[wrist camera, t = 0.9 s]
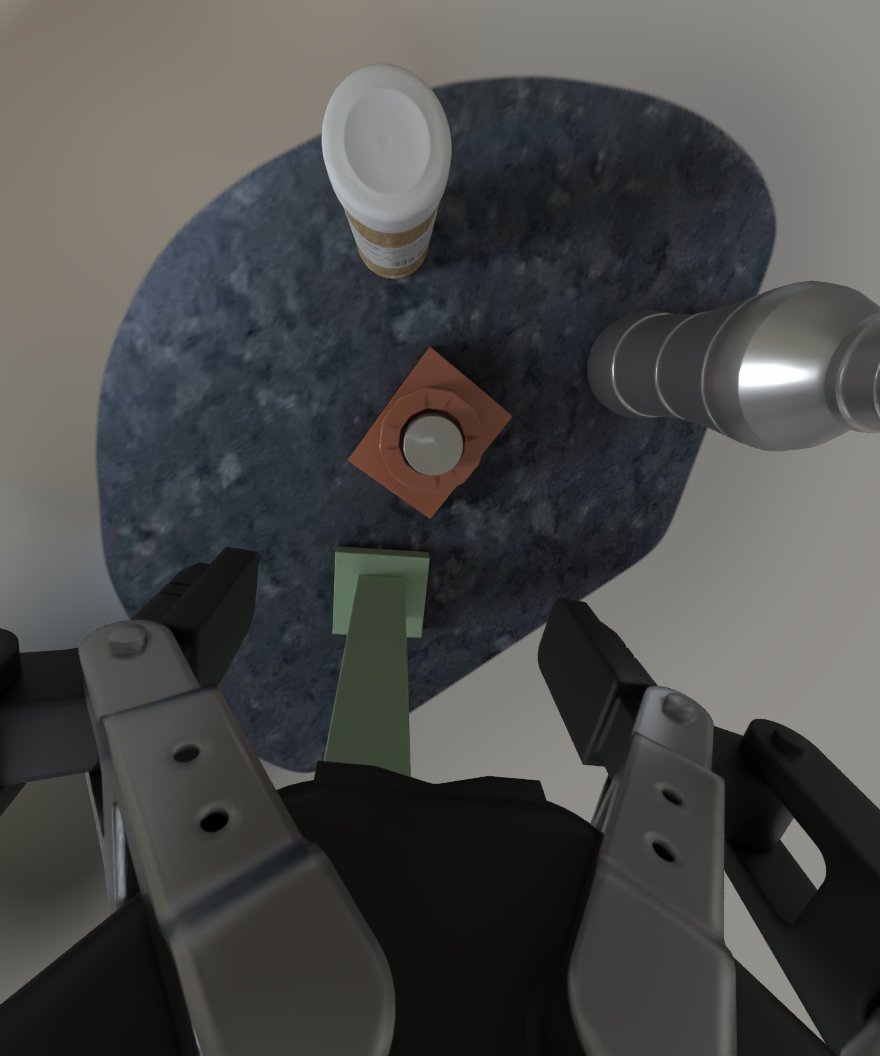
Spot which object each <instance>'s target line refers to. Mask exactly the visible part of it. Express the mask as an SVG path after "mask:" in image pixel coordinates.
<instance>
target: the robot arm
mask: <svg viewBox="0 0 880 1056" xmlns="http://www.w3.org/2000/svg"><path fill="white" fill-rule="evenodd" d="M258 565H259V554H258V552H255V551H249V550H242V549H236V548H230V547H226V548H225V549H224V550H223V551H222V552H221V553H220V554H219V555H218V556H217V557H216V559H215V560H214V561H213V562H212V563H211V564H206V563H197V564H195V565H193V566H190V567H188V568H186V569H183V570H181V571H180V572H179V573H178V574H177V575H176V576H175V577H174V578H173V579H172V580H171V581H170V583H169V584H167V585H166V586H165V587H164V588H163V589H162V590H161V591H160V593H158V594H157V595H156V596H155V597H154V598H153V599H152V600H151V601H150V602H149V603H147V604H146V605H145V606H144V607H143V608H142V609H141V610H140V611H139V612H138V613H137V614H136V615H135V616H134V617H133V618H132V619H131V620H126V621H119V622H115V623H111V624H108V625H105V626H102V627H100V628H97V629H96V630H94V631H92V632H90V633H89V634H88V635H86V636H85V637H84V638H83V639H82V641H81V642H80V644H79V647H78V648H74V649H67V650H56V651H40V652H25V653H20V652H19V643H18V638H17V637H16V635H15V634H13V633H12V632H10V631H8V630H5V629H1V628H0V816H1V815H2V813H3V812H4V811H5V810H6V808H7V807H8V806H9V805H10V803H11V802H12V801H13V799H14V798H15V797H16V796H17V794H18V793H19V792H20V791H21V789H22V788H23V787H24V785H25V784H26V783H27V782H30V781H36V780H42V779H48V778H54V777H60V776H66V775H72V774H78V773H84V772H86V779H87V783H88V788H89V793H90V798H91V802H92V807H93V812H94V817H95V822H96V826H97V831H98V836H99V841H100V845H101V850H102V855H103V861H104V867H105V875H106V884H107V892H108V899H109V906H110V912H111V916H109V917H108V918H107V919H106V920H104V921H103V922H102V923H101V924H100V925H98V926H97V927H96V928H94V929H93V930H92V931H91V932H89V933H88V934H87V935H86V936H85V937H83V938H82V939H81V940H80V941H78V942H77V943H76V944H75V945H74V946H72V947H71V948H70V949H68V950H67V951H66V952H65V953H64V954H62V955H61V956H60V957H59V958H57V959H56V960H55V961H54V962H52V963H51V964H50V965H49V966H47V967H46V968H45V969H44V970H43V971H41V972H40V973H39V974H38V975H36V976H35V977H34V978H33V979H31V980H30V981H29V982H28V983H26V984H25V985H24V986H23V987H22V988H20V989H19V990H18V991H17V992H16V993H14V994H13V995H12V996H10V997H9V998H8V999H7V1000H6V1001H4V1002H3V1003H2V1004H0V1056H880V809H878V807H877V806H876V805H874V804H873V803H872V802H871V801H870V800H869V799H868V798H867V797H866V796H865V795H864V794H863V793H862V792H861V791H860V790H859V789H858V788H857V787H856V786H855V785H854V784H853V783H852V782H851V781H850V780H849V779H848V778H847V777H846V776H845V775H844V774H843V773H842V772H841V771H840V770H839V769H838V768H837V767H836V766H835V765H834V764H833V763H832V762H831V761H830V760H829V759H828V758H827V757H826V756H825V755H824V754H823V753H822V752H821V751H820V750H819V749H818V748H817V747H816V746H815V745H813V744H812V743H811V742H810V741H809V740H807V739H806V738H804V737H803V736H802V735H800V734H798V733H797V732H795V731H793V730H792V729H790V728H788V727H786V726H784V725H781V724H779V723H776V722H773V721H769V720H765V719H755V720H753V721H752V722H751V723H750V725H749V726H748V728H747V730H746V732H745V734H744V736H742V735H739V734H736V733H733V732H730V731H728V730H724V729H722V728H718V727H715V726H714V725H713V720H712V718H711V717H710V715H709V714H708V712H706V710H705V709H704V708H703V707H702V706H701V705H699V704H698V703H697V702H696V701H694V700H693V699H691V698H689V697H688V696H686V695H684V694H682V693H680V692H678V691H676V690H673V689H670V688H667V687H661V686H658V685H657V684H656V683H655V682H654V680H653V679H652V678H651V677H650V675H649V674H648V673H647V671H646V670H645V669H644V668H643V666H642V665H641V664H640V663H639V661H638V660H637V659H636V658H634V655H633V654H632V652H631V651H630V650H629V649H628V648H626V645H625V643H624V642H623V641H622V640H621V638H620V637H619V636H618V635H617V633H615V632H614V631H613V630H611V629H610V628H609V627H608V626H606V625H605V624H604V623H602V622H601V621H600V620H599V619H598V618H597V616H596V615H595V614H594V612H593V611H592V610H591V608H590V607H589V606H588V605H587V603H585V602H582V601H575V600H569V599H562V598H558V599H557V600H556V601H555V602H554V604H553V606H552V609H551V612H550V615H549V618H548V621H547V624H546V627H545V630H544V633H543V636H542V639H541V642H540V645H539V649H538V664H539V668H540V670H541V673H542V675H543V677H544V679H545V681H546V684H547V685H548V688H549V690H550V692H551V695H552V697H553V699H554V701H555V704H556V706H557V708H558V710H559V712H560V715H561V717H562V719H563V721H564V723H565V726H566V728H567V730H568V732H569V735H570V737H571V739H572V741H573V743H574V745H575V748H576V750H577V752H578V754H579V756H580V759H581V761H582V763H583V765H593V766H603V767H605V768H606V770H607V772H608V777H607V779H606V781H605V783H604V786H603V789H602V792H601V794H600V797H599V800H598V803H597V806H596V809H595V812H594V815H593V817H592V820H591V823H589V822H587V821H585V820H584V819H582V818H581V817H579V816H578V815H576V814H574V813H573V812H571V811H569V810H567V809H566V808H563V807H561V806H559V805H556V804H554V803H552V802H549V801H547V800H546V798H545V794H544V791H543V789H542V785H541V782H540V781H538V780H526V779H516V778H504V777H494V776H486V777H479V778H473V779H466V780H460V781H453V782H447V783H441V784H432V783H428V782H425V781H421V780H418V779H415V778H412V777H409V776H406V775H403V774H400V773H396V772H393V771H390V770H387V769H384V768H381V767H378V766H372V765H361V764H350V763H339V762H328V761H318V762H317V767H316V772H315V777H314V780H312V781H306V782H301V783H297V784H293V785H289V786H286V787H284V788H281V789H278V790H276V789H275V787H274V785H273V784H272V782H271V780H270V778H269V777H268V775H267V773H266V771H265V769H264V768H263V766H262V764H261V762H260V760H259V759H258V757H257V755H256V753H255V752H254V750H253V748H252V746H251V744H250V743H249V741H248V739H247V737H246V736H245V734H244V732H243V730H242V728H241V727H240V725H239V723H238V721H237V720H236V718H235V716H234V714H233V712H232V711H231V709H230V707H229V705H228V704H227V702H226V700H225V698H224V696H223V695H222V693H221V691H220V690H219V688H218V685H219V684H220V682H221V680H222V678H223V676H224V674H225V673H226V671H227V669H228V667H229V665H230V663H231V662H232V660H233V658H234V656H235V654H236V653H237V651H238V649H239V647H240V645H241V643H242V642H243V640H244V638H245V636H246V634H247V632H248V630H249V628H250V625H251V622H252V619H253V614H254V609H255V599H256V588H257V577H258ZM793 818H795V819H796V821H797V822H798V823H799V824H800V825H801V827H802V828H803V829H804V830H805V832H806V833H807V834H808V835H809V837H810V838H811V839H812V840H813V841H814V843H815V844H816V845H817V847H818V848H819V850H820V851H821V853H822V855H823V858H824V861H825V865H826V877H825V880H824V882H823V884H822V885H821V886H820V888H819V889H818V890H817V889H816V888H815V886H814V885H813V883H812V882H811V881H810V879H809V878H808V877H807V875H806V874H805V873H804V872H803V870H802V869H801V867H800V866H799V865H798V863H797V862H796V860H795V859H794V858H793V856H792V855H791V854H790V852H789V851H788V850H787V848H786V847H785V846H784V844H783V843H782V842H781V840H780V838H781V837H782V835H783V834H784V832H785V830H786V829H787V827H788V826H789V824H790V823H791V821H792V820H793ZM724 870H725V872H726V874H727V876H728V877H729V879H730V881H731V882H732V884H733V886H734V888H735V889H736V891H737V893H738V894H739V896H740V898H741V900H742V901H743V903H744V905H745V906H746V908H747V910H748V912H749V913H750V915H751V917H752V918H753V920H754V922H755V923H756V925H757V927H758V929H759V930H760V932H761V934H762V935H763V937H764V939H765V941H766V942H767V944H768V945H769V947H770V949H771V951H772V953H773V954H774V956H775V958H776V959H777V961H778V963H779V965H780V966H781V968H782V970H783V971H784V973H785V975H786V977H787V978H788V980H789V982H790V983H791V985H792V987H793V989H794V990H795V992H796V994H797V995H798V997H799V999H800V1001H801V1002H802V1004H803V1006H804V1007H805V1009H806V1011H807V1013H808V1014H809V1016H810V1017H811V1019H812V1021H813V1023H814V1025H815V1026H816V1028H817V1030H818V1031H819V1033H820V1035H821V1036H822V1038H823V1040H824V1042H825V1043H826V1044H825V1043H824V1042H823V1041H822V1040H821V1039H820V1038H819V1037H817V1036H816V1035H815V1034H814V1033H813V1032H812V1031H811V1030H810V1029H809V1028H808V1027H807V1026H806V1025H805V1024H804V1023H802V1021H800V1019H798V1018H797V1017H796V1016H795V1015H794V1014H793V1013H792V1012H791V1011H790V1010H789V1009H788V1008H787V1007H786V1006H785V1005H783V1003H782V1002H780V1001H779V1000H778V999H777V998H776V997H775V996H774V995H773V994H772V993H771V992H770V991H769V990H768V989H767V988H765V986H764V985H762V984H761V983H760V982H759V981H758V980H757V979H756V978H755V977H754V976H753V975H752V974H751V973H750V972H749V971H748V970H747V969H746V968H744V967H743V966H742V965H741V964H740V963H739V962H738V961H737V960H736V959H735V958H734V957H733V956H732V953H731V951H730V950H729V949H728V948H727V947H726V945H725V941H724Z"/></svg>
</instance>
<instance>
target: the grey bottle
mask: <svg viewBox="0 0 880 1056" xmlns="http://www.w3.org/2000/svg"><path fill="white" fill-rule="evenodd" d="M587 376H588V381H589V385H590V387H591V390H592V392H593V394H594V395H595V396H596V398H597V399H598V400H599V401H600V402H601V403H602V404H603V405H604V406H605V407H607V408H608V409H610V410H611V411H613V412H615V413H616V414H618V415H621V416H624V417H627V418H652V417H659V416H662V417H677V418H682V419H685V420H688V421H692V422H695V423H698V424H702V425H704V426H706V427H708V428H710V429H712V430H715V431H717V432H719V433H721V434H723V435H725V436H727V437H729V438H732V439H734V440H736V441H738V442H740V443H743V444H746V445H749V446H752V447H755V448H758V449H762V450H765V451H787V450H795V449H796V450H797V449H803V448H810V447H814V446H817V445H820V444H822V443H825V442H827V441H829V440H831V439H833V438H835V437H838V436H840V435H842V434H844V433H845V432H847V431H849V430H854V431H858V432H866V433H880V307H879V306H878V305H877V304H875V303H874V302H873V301H871V300H870V299H869V298H867V297H866V296H864V295H863V294H862V293H861V292H859V291H856V290H854V289H852V288H849V287H846V286H841V285H837V284H832V283H827V282H818V281H806V282H798V283H793V284H790V285H786V286H783V287H779V288H776V289H773V290H770V291H767V292H764V293H762V294H759V295H757V296H754V297H751V298H749V299H746V300H743V301H741V302H738V303H735V304H733V305H730V306H727V307H724V308H719V309H715V310H711V311H707V312H702V313H698V314H672V313H668V312H661V311H649V310H644V311H636V312H633V313H631V314H628V315H625V316H624V317H622V318H620V319H619V320H617V321H615V322H614V323H612V324H610V325H609V326H608V327H607V328H606V329H604V330H603V331H602V332H601V334H600V335H599V336H598V337H597V339H596V340H595V342H594V344H593V346H592V348H591V351H590V354H589V357H588V364H587Z"/></svg>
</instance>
